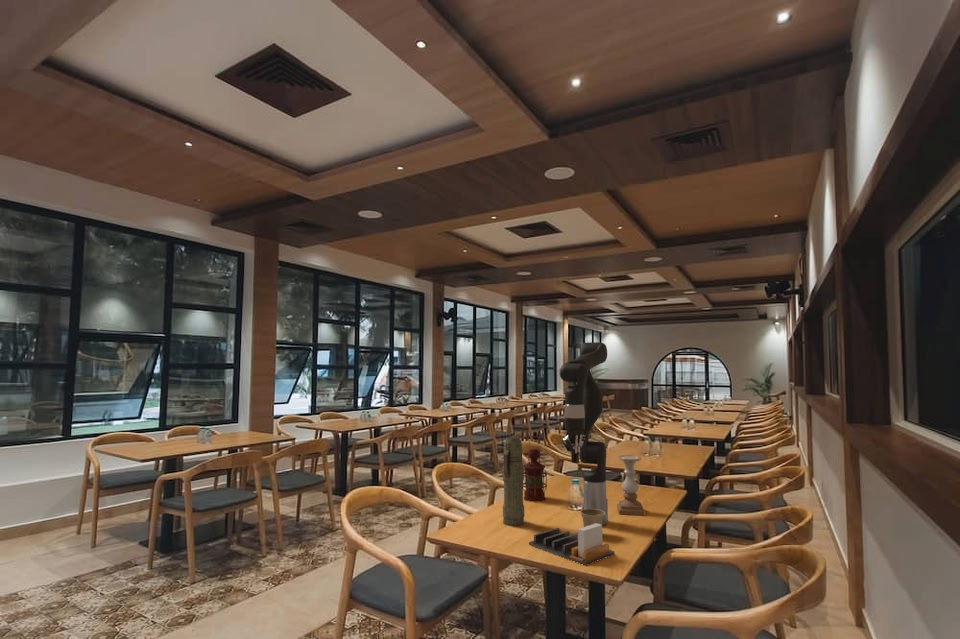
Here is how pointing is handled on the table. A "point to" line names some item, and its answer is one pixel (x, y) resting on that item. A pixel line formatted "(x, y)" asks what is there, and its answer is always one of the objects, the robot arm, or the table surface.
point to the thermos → (513, 482)
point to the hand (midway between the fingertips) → (575, 462)
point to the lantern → (534, 477)
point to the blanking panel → (589, 538)
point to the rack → (568, 546)
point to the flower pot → (592, 516)
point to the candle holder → (630, 489)
